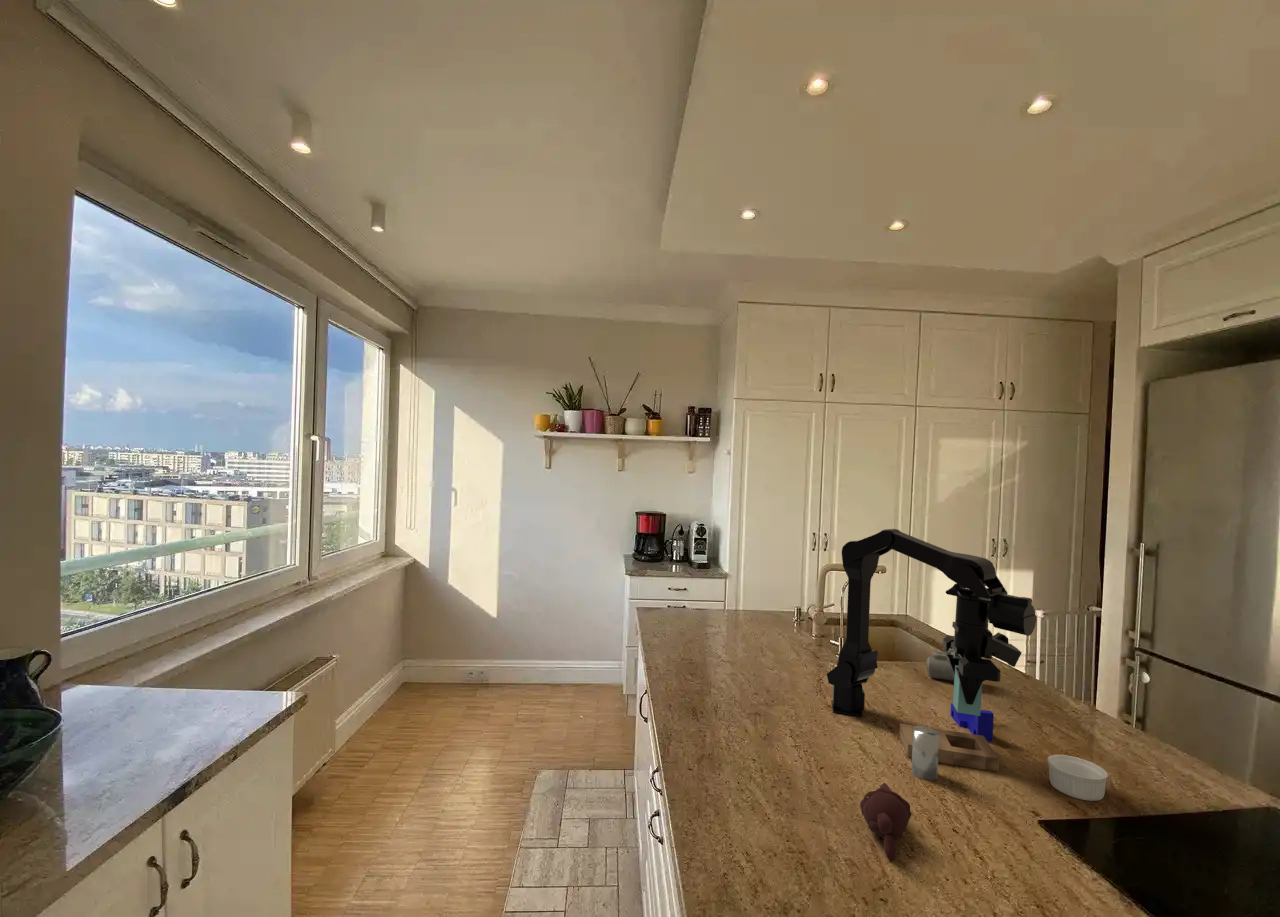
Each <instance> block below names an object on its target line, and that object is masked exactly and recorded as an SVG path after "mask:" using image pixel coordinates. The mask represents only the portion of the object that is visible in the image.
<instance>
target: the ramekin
mask: <svg viewBox="0 0 1280 917" xmlns="http://www.w3.org/2000/svg"><path fill="white" fill-rule="evenodd" d="M1046 759H1047V760H1046V762H1047V765H1048V773H1049V782H1050V785H1051V786H1052V787H1053V788H1055V790H1057V791H1059V792H1060V793H1062V794H1064V795H1066V796H1069V797H1072V798H1074V799H1076V800H1077V799H1078V800H1082V801H1090V802H1096V801H1100V800H1102V799H1104V796H1105V794H1106V793H1105V792H1106V785H1107V781H1108V778H1109V775H1108V772H1107V771H1106V770H1105V769H1104V768H1103V767H1101V766H1100V765H1098V764H1096V763H1093V762H1091V761H1090V760H1087V759H1082V758H1079V757H1077V756H1071V755H1068V754H1053V755H1052V754H1051V755H1050V756H1048V757H1047V758H1046Z"/></svg>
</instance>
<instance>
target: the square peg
mask: <svg viewBox="0 0 1280 917" xmlns="http://www.w3.org/2000/svg"><path fill="white" fill-rule="evenodd" d="M955 667H957V668H959V666H958V665H955ZM982 694H983V683H982V684H981V686H980V688H979V690H978V693H977V695H976V698H975V700H974V703H973V704H972V705H970V704H967V703H966V701H965V698H964V695H963V691H962V688H961V685H960V682H959V678H958V675H957V672H956V669H955V678H954V681H953V694H952V695H953V696H952V697H953V698H952V704H953V706H954V707H955V709H956V711H957V713H964V714H970V715H976V716H980V712H981V710H982V696H983V695H982Z"/></svg>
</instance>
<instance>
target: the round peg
mask: <svg viewBox="0 0 1280 917" xmlns="http://www.w3.org/2000/svg"><path fill="white" fill-rule="evenodd" d="M914 726H915V727H914V728H913V746H912V758H911V769H910V770H911V774H912V775H913V776H915V777H916V778H919V779H921V780H925V781H929V782H930V781H936V780H937V779H938V773H939V762H938V755H939V732H938V731H936V730H934V729H935V728H934V729H932V728H933V727H928V726H923V725H914Z"/></svg>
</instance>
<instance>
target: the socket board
mask: <svg viewBox="0 0 1280 917" xmlns="http://www.w3.org/2000/svg"><path fill="white" fill-rule="evenodd" d="M915 726H916V725H913V724H905V723H899V734H898V735H900V736H899V738H900V741H901V743H902V746H903V749H904V751H905V755H906V756H907V758H911V759H912V746H913V728H914V727H915ZM931 728H932V729H934V730H936V731H938V732H939V755H938V763H941V764H949V765H953V766H959V767H968V768H972V769H980V770H983V771H990V772H999V768H1000V766H999V765H1000V758H999V756H998V755H997V753H996V752H995V750H994V749H993V747H992V746H991V745H990V743H989V741H987V740H986V739H985V737H984V736H982V735H975V734H972V733H967V732H961V731H953V730H949V729H948V730H947V729H940V728H939V729H938V728H933V727H931Z"/></svg>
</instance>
